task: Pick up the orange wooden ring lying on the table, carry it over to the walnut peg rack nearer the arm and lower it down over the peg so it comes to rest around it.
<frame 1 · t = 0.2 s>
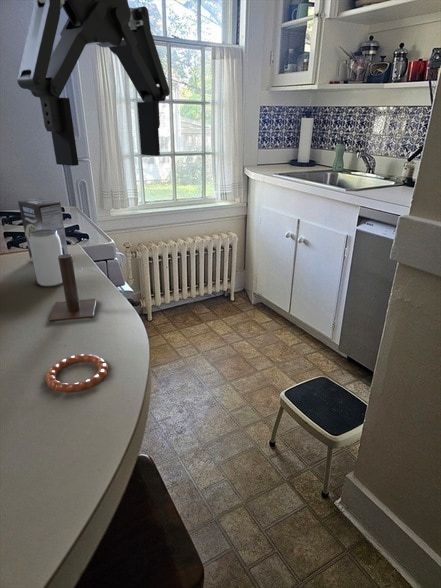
hand: (113, 159, 48), 31 cm above the table, tool pointing down, fingers open, 13 cm apart
coffee box: (50, 262, 105), on the table
ring: (77, 372, 59), point 1 cm above the table
can: (52, 282, 93), on the table
rack: (74, 313, 78), on the table
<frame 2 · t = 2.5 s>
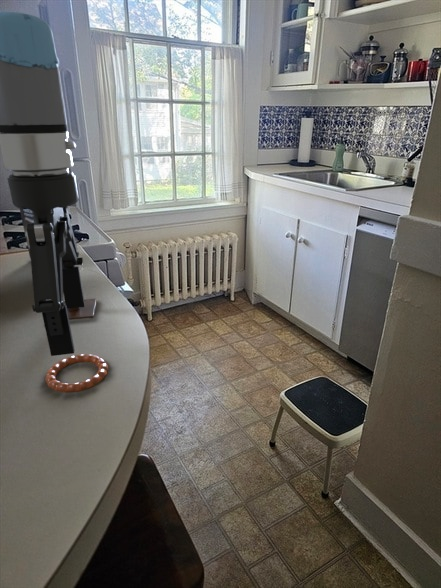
hand: (70, 327, 55), 9 cm above the table, tool pointing down, fingers open, 13 cm apart
nothing on the table moved.
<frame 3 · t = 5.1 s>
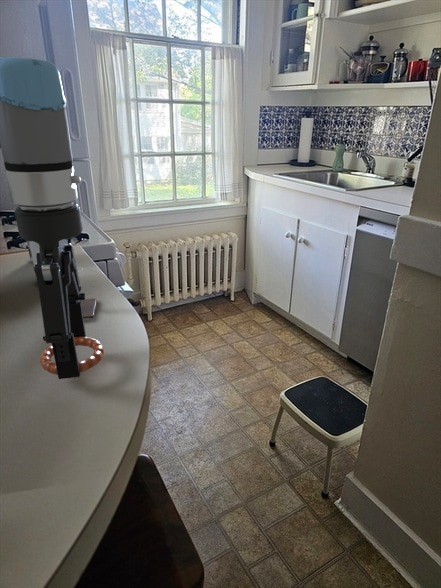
hand: (73, 357, 58), 3 cm above the table, tool pointing down, fingers closed on ring, 9 cm apart
ring: (72, 354, 58), point 4 cm above the table, touching gripper
everything else where it was.
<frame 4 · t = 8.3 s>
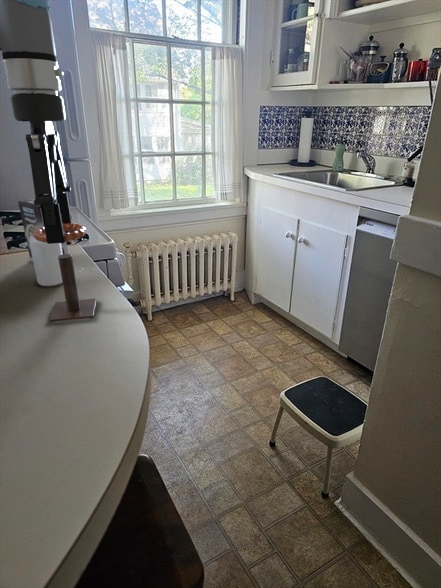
hand: (60, 234, 70), 16 cm above the table, tool pointing down, fingers closed on ring, 9 cm apart
ring: (60, 232, 70), point 17 cm above the table, touching gripper
everything else where it was.
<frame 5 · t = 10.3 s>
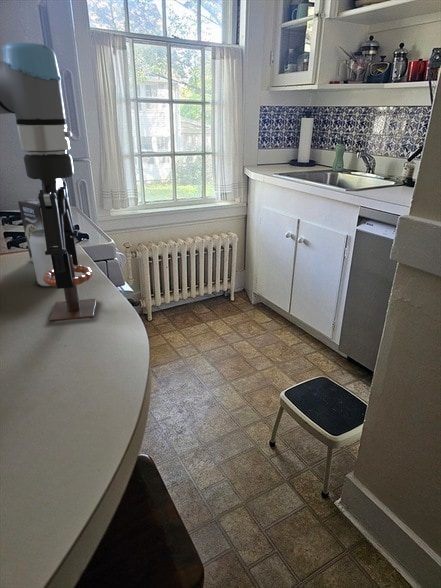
hand: (68, 277, 75), 8 cm above the table, tool pointing down, fingers closed on ring, 9 cm apart
ring: (68, 275, 75), point 8 cm above the table, touching gripper
everything else where it was.
when the fingers open (4 cm above the table, at t = 11.9 s): ring drops 3 cm, resting on rack.
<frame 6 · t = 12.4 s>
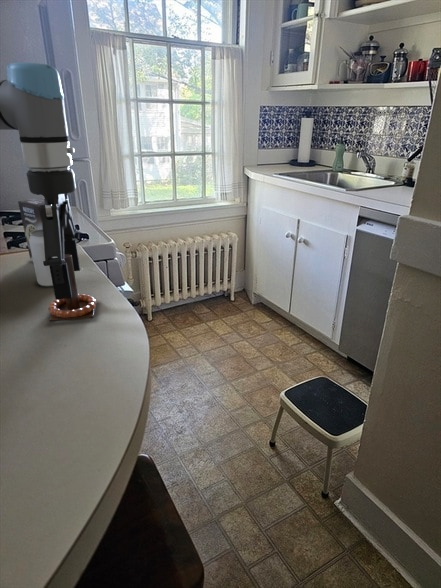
hand: (69, 283, 75), 6 cm above the table, tool pointing down, fingers open, 13 cm apart
ring: (73, 305, 77), point 2 cm above the table, touching rack
everything else where it was.
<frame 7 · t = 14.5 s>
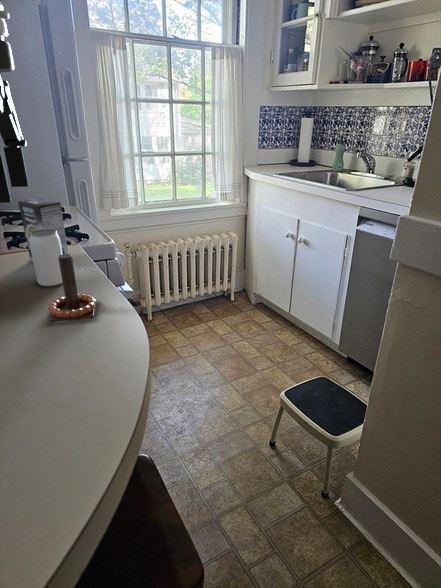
hand: (11, 193, 63), 24 cm above the table, tool pointing down, fingers open, 13 cm apart
nothing on the table moved.
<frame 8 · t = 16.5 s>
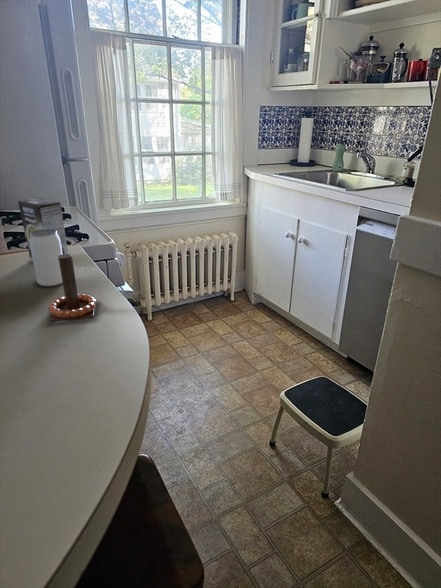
nothing on the table moved.
at the end: ring 0.0 cm off-centre on the rack, point 1.7 cm above the rack's base; the gripper is holding nothing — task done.
